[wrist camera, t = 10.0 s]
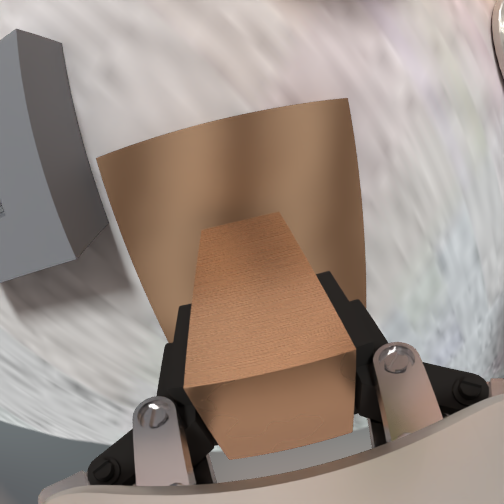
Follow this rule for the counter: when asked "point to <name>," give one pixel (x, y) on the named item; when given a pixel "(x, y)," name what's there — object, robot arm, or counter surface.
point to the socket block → (41, 161)
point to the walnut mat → (240, 195)
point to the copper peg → (265, 343)
